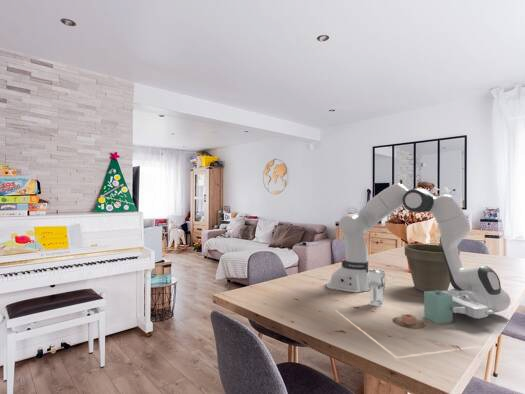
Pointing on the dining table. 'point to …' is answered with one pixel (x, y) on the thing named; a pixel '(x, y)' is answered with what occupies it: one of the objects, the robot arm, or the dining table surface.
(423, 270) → the plant pot
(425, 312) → the teal knobbed box
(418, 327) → the disc
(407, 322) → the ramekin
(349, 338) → the dining table surface
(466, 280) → the robot arm
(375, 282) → the shiny silver metal cup
